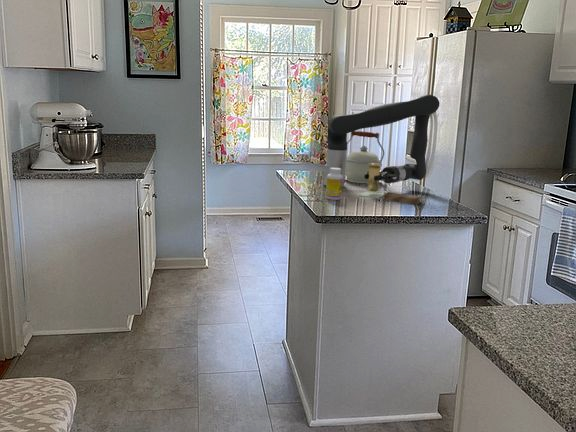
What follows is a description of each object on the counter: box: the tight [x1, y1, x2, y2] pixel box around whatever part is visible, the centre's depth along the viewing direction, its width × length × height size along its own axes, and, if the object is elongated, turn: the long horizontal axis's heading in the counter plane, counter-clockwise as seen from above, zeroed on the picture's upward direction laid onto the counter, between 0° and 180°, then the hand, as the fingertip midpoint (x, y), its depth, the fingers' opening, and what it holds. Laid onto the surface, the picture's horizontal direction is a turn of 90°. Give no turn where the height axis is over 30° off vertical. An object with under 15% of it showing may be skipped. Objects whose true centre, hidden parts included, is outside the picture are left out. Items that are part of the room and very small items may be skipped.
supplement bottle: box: [325, 168, 343, 201], centre depth 234 cm, size 7×7×13 cm
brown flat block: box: [382, 191, 421, 206], centre depth 238 cm, size 14×7×2 cm, turn 66°
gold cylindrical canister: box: [367, 163, 382, 193], centre depth 245 cm, size 6×6×12 cm
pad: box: [358, 191, 386, 200], centre depth 246 cm, size 9×9×1 cm
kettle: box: [345, 130, 385, 184], centre depth 281 cm, size 25×18×25 cm
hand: (370, 177), depth 243 cm, fingers closed on gold cylindrical canister, 4 cm apart
